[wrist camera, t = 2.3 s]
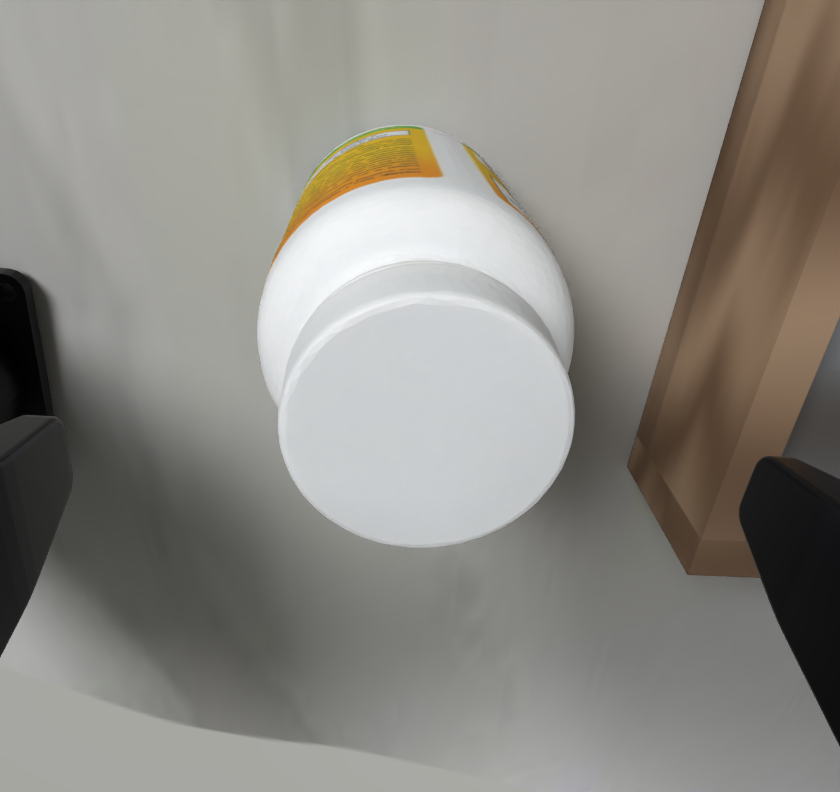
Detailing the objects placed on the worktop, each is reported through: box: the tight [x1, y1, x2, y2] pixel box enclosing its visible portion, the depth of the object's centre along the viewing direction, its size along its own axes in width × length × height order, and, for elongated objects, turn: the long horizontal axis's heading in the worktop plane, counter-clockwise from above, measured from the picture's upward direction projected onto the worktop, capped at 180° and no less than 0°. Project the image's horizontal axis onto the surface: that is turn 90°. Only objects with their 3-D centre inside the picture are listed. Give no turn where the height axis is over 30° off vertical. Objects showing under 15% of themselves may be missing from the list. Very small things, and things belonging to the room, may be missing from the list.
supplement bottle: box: [257, 125, 575, 548], centre depth 14 cm, size 6×6×10 cm
